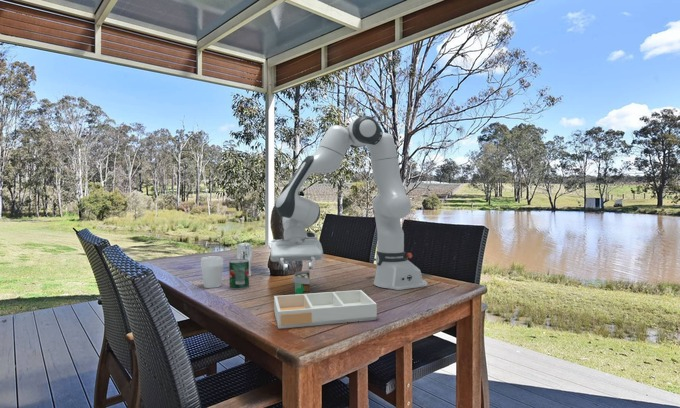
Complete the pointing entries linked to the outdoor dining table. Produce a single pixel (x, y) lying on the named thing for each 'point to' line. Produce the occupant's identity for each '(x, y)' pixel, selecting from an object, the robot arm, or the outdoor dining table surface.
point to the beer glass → (245, 253)
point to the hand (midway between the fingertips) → (298, 268)
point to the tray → (323, 308)
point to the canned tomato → (239, 273)
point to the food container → (302, 282)
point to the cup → (212, 271)
